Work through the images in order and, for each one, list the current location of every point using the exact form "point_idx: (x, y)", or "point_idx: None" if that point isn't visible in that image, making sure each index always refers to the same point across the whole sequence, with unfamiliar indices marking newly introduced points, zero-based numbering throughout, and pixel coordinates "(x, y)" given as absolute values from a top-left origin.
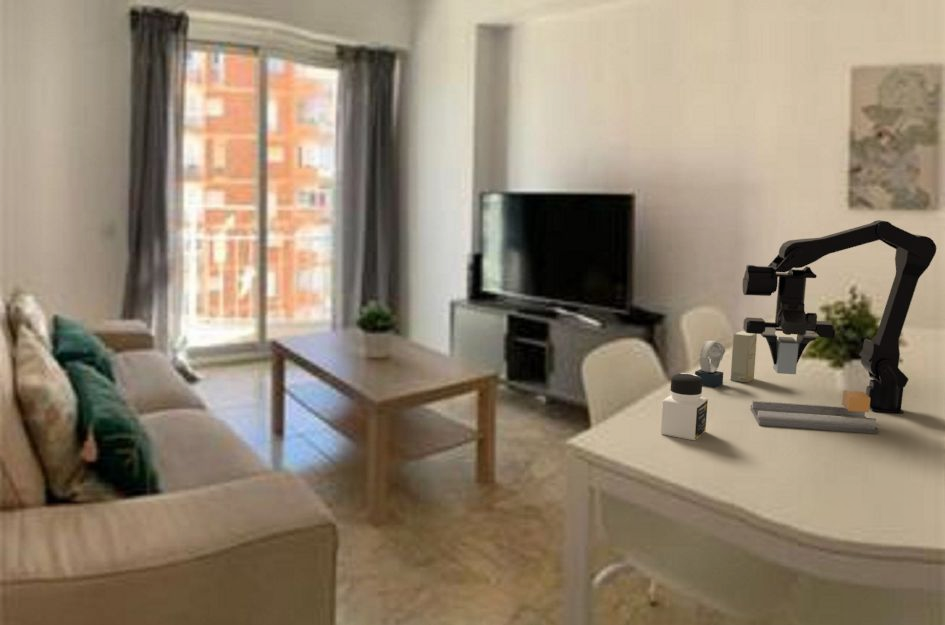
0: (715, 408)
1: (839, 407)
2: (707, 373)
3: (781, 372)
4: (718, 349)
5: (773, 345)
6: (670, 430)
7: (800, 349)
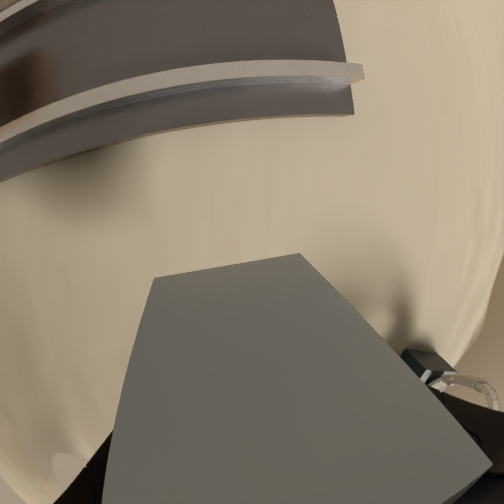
0: (436, 107)
1: (2, 126)
2: (439, 373)
3: (268, 263)
4: None
5: (476, 428)
6: None
7: (102, 496)
